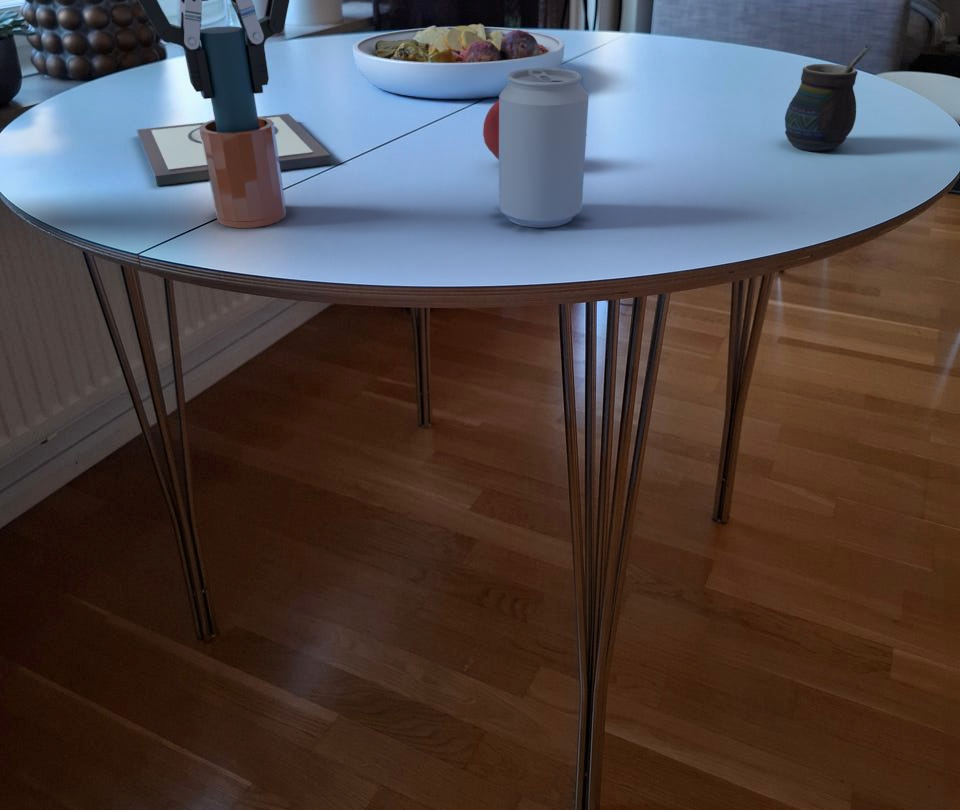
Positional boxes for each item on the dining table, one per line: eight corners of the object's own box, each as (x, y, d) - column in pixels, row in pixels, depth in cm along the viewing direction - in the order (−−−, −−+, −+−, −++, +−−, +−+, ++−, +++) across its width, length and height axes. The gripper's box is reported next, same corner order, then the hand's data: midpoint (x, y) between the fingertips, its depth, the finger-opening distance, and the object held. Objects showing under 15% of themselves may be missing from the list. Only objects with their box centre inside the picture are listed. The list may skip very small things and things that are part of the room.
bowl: (314, 82, 125) (307, 21, 120) (461, 54, 142) (460, -1, 138) (456, 116, 108) (455, 47, 103) (605, 79, 125) (609, 18, 120)
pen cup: (223, 232, 75) (205, 137, 71) (212, 210, 80) (194, 120, 75) (293, 222, 77) (279, 129, 73) (278, 201, 82) (265, 113, 77)
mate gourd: (766, 141, 97) (783, 44, 91) (820, 135, 99) (841, 39, 94) (807, 158, 92) (828, 55, 86) (864, 150, 94) (889, 50, 88)
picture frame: (157, 186, 86) (154, 173, 86) (138, 138, 101) (136, 127, 100) (331, 164, 92) (330, 152, 91) (289, 122, 107) (288, 111, 106)
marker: (233, 205, 76) (201, 34, 68) (226, 193, 79) (195, 28, 71) (273, 199, 77) (247, 31, 69) (265, 188, 80) (239, 24, 72)
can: (530, 237, 74) (535, 86, 67) (482, 213, 79) (481, 70, 72) (598, 220, 77) (609, 74, 70) (547, 198, 82) (553, 60, 75)
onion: (549, 167, 90) (552, 84, 86) (511, 179, 87) (512, 94, 82) (510, 156, 94) (511, 76, 89) (472, 167, 90) (471, 85, 86)
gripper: (274, -160, 67) (303, 78, 78) (82, -158, 63) (140, 93, 73) (296, -162, 62) (324, 95, 72) (88, -160, 57) (149, 113, 68)
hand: (231, 93), depth 73 cm, fingers closed on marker, 3 cm apart
